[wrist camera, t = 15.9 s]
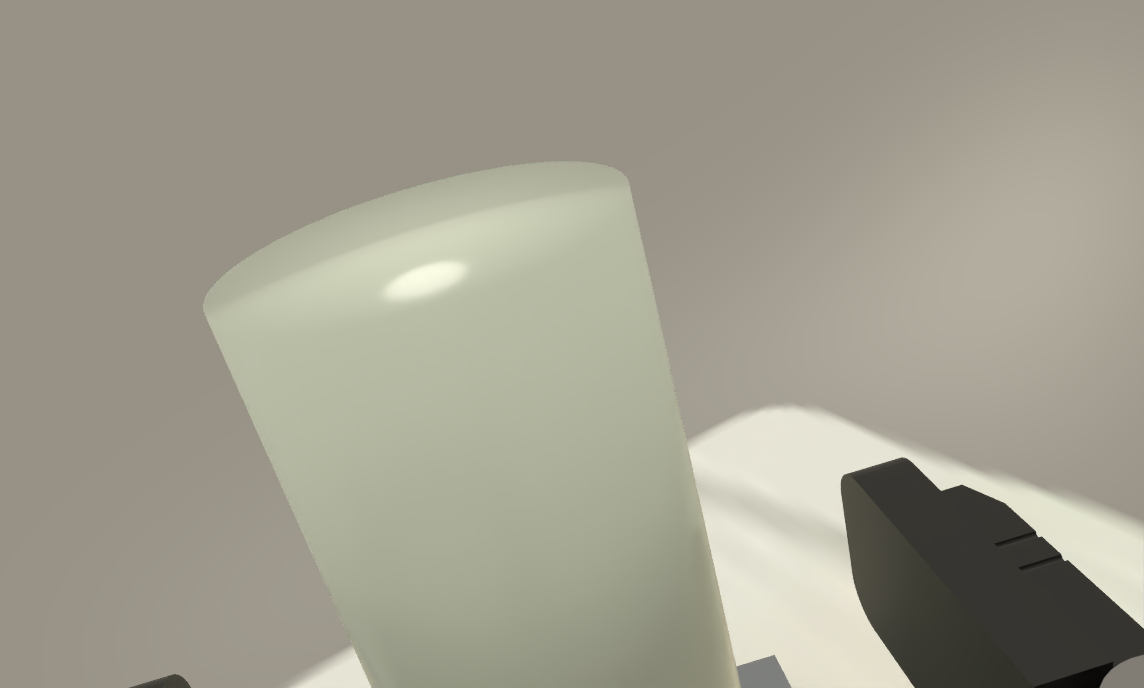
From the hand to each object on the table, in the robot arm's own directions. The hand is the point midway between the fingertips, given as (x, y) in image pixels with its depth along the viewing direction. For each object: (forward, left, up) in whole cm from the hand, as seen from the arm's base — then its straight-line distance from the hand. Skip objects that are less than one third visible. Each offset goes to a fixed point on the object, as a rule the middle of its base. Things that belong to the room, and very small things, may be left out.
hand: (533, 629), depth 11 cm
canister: (0, +2, -9) cm, 10 cm away
